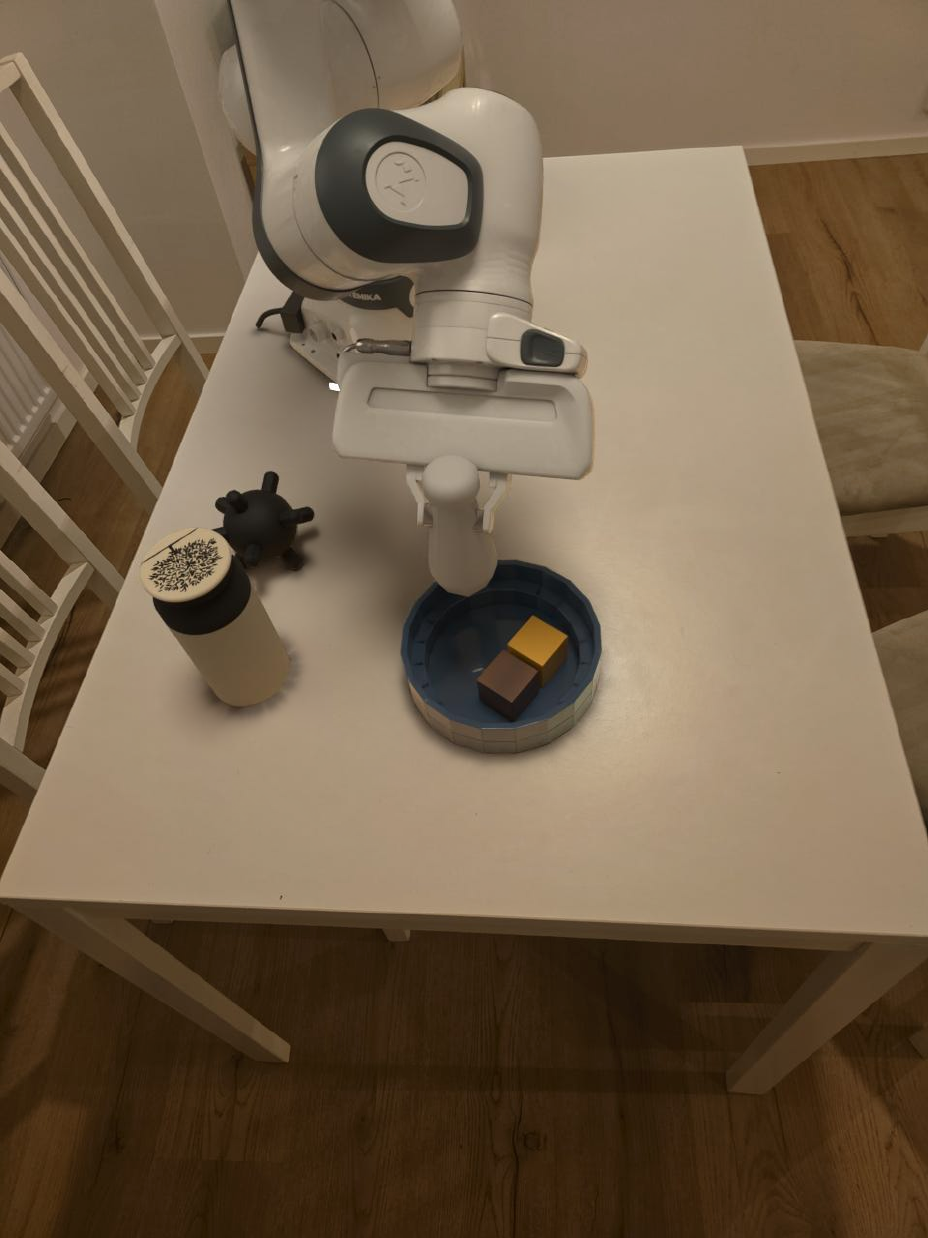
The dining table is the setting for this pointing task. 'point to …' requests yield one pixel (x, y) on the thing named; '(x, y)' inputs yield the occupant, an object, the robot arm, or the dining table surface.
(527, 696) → the walnut block
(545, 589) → the bowl
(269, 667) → the travel mug
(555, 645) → the mustard block
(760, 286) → the dining table surface
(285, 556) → the toy ball
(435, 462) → the salt shaker
